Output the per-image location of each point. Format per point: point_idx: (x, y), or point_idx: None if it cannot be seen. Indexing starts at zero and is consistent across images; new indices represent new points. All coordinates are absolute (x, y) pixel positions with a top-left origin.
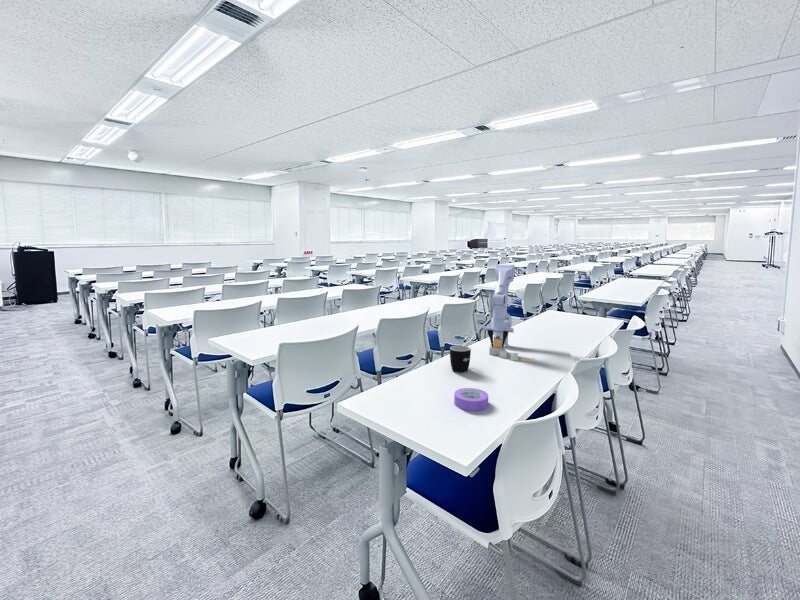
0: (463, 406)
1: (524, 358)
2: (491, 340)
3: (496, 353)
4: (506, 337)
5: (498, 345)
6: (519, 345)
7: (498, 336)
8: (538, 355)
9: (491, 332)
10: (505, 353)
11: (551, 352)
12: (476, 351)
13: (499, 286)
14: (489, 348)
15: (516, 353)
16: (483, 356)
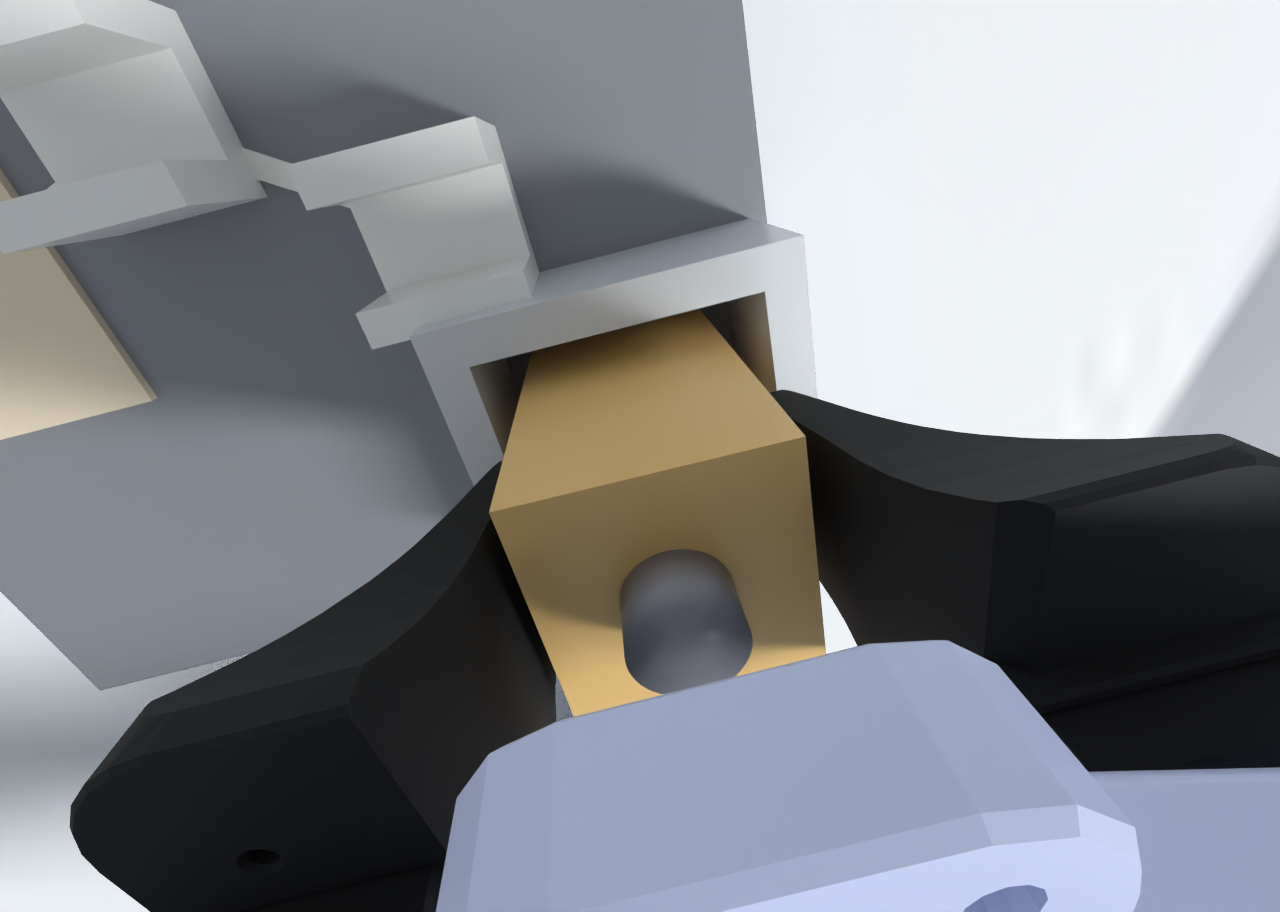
0: None
1: (14, 327)
2: (851, 422)
3: (609, 259)
4: (300, 633)
5: (602, 396)
6: None
7: (668, 634)
8: (94, 686)
9: (1084, 630)
10: (331, 158)
11: (54, 847)
12: (988, 419)
13: None
14: (799, 235)
15: (23, 220)
16: (846, 195)
